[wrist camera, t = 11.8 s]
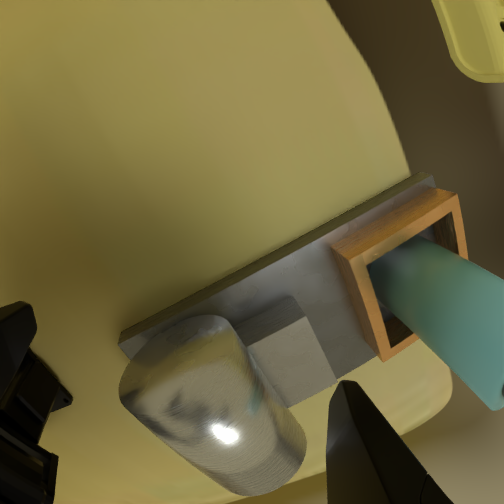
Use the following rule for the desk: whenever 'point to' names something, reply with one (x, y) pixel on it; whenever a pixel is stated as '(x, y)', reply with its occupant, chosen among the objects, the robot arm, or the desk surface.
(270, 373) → the motor assembly
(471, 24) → the plastic component
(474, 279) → the teal cylinder grey dome
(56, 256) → the desk surface
